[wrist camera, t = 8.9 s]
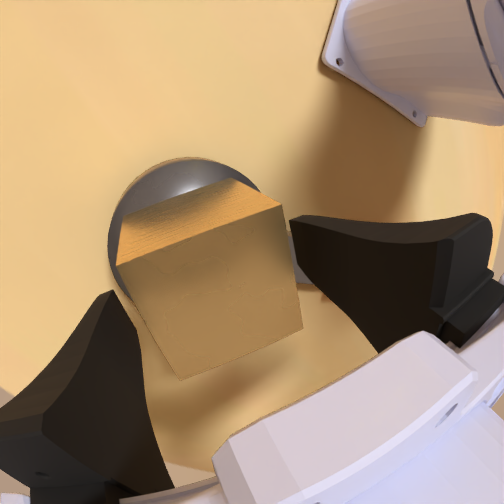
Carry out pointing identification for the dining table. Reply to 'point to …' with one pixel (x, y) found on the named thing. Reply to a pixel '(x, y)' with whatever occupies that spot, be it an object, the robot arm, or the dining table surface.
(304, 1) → the dining table surface
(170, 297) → the wooden cube
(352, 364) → the dining table surface
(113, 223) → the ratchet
